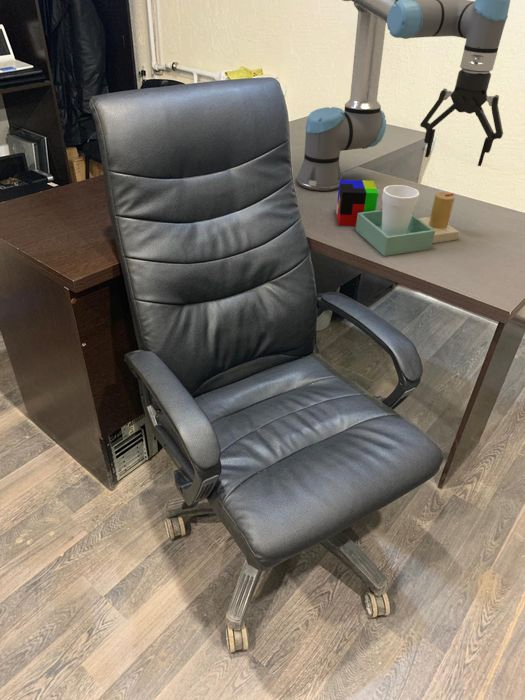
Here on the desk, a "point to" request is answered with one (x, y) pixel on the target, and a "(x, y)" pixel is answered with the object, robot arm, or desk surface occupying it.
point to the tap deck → (442, 232)
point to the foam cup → (398, 208)
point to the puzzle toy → (355, 200)
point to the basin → (413, 240)
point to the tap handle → (441, 209)
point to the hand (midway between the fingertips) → (453, 160)
